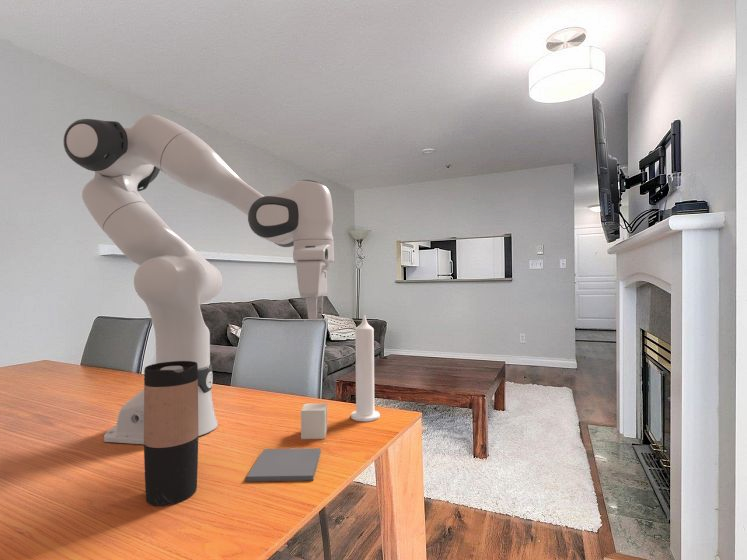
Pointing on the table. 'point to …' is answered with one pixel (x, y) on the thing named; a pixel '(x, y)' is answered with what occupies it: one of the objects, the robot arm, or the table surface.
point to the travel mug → (170, 431)
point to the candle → (364, 373)
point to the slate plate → (285, 465)
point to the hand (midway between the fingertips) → (315, 317)
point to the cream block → (314, 421)
